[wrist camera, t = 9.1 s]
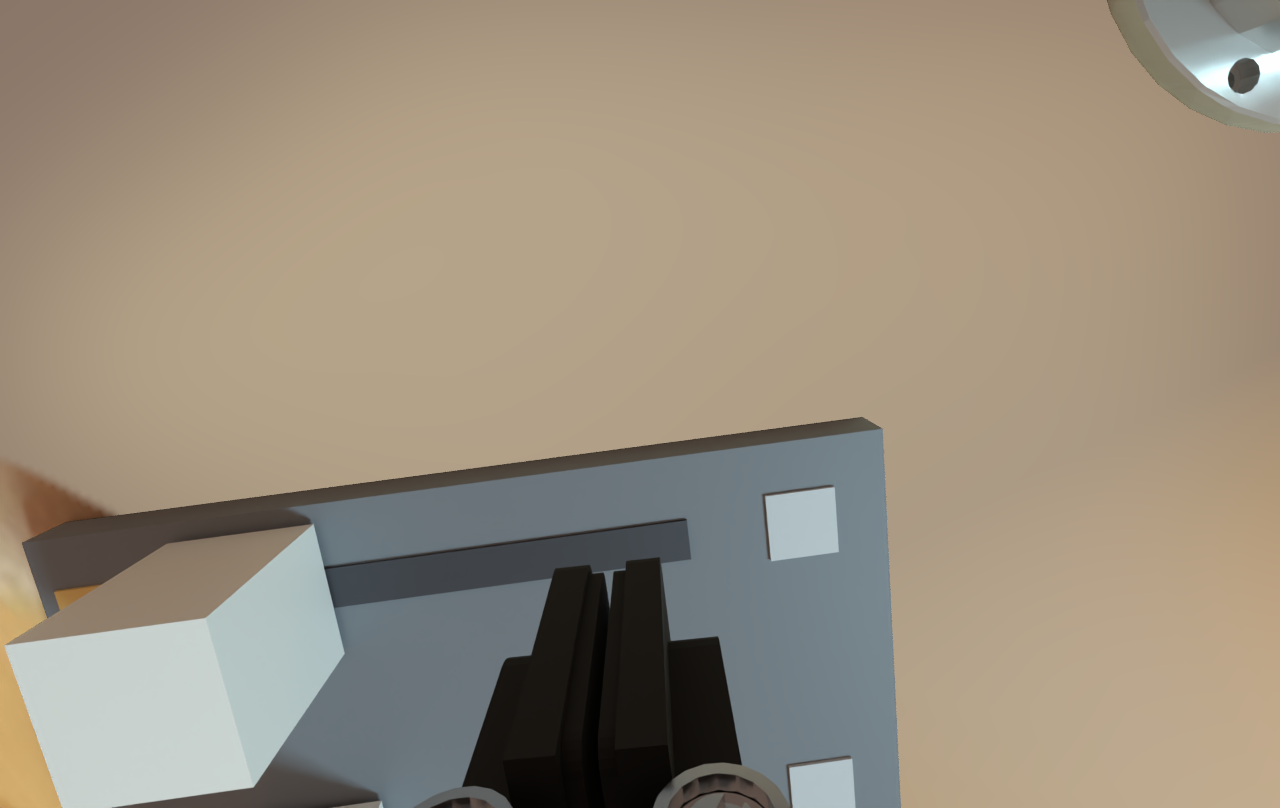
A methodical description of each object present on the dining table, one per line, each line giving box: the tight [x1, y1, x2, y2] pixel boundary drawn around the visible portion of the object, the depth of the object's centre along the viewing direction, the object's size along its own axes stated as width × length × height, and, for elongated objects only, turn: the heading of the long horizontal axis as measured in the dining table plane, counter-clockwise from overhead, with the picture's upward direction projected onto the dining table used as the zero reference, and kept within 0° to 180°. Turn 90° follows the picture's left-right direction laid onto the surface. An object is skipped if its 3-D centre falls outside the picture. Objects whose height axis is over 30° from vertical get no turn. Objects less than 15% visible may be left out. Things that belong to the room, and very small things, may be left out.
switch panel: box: [22, 417, 901, 808], centre depth 20 cm, size 24×14×2 cm, turn 97°
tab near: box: [4, 524, 345, 808], centre depth 16 cm, size 4×4×5 cm
